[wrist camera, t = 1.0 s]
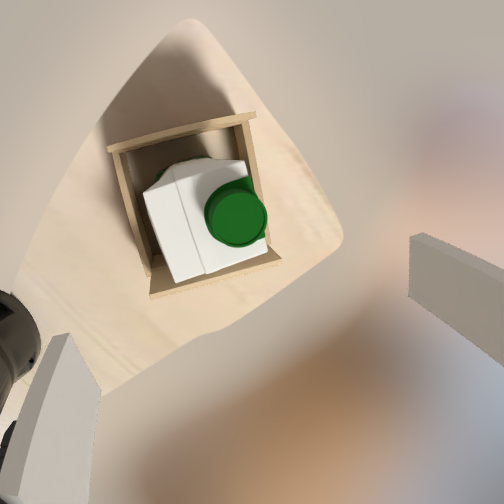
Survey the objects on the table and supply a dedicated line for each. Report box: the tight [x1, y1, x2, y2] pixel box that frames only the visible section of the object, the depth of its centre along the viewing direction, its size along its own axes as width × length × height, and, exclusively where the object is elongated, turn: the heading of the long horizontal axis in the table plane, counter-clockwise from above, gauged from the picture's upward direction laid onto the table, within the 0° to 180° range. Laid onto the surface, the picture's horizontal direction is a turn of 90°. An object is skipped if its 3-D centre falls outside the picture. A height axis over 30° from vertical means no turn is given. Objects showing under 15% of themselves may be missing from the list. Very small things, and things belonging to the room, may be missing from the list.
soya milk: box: [143, 156, 268, 283], centre depth 31 cm, size 9×9×20 cm
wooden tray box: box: [106, 111, 283, 300], centre depth 35 cm, size 16×16×12 cm
